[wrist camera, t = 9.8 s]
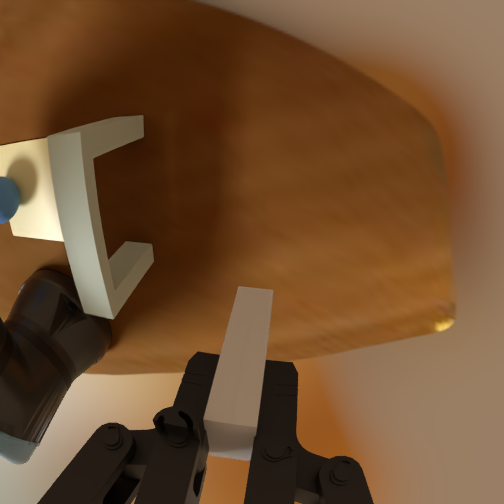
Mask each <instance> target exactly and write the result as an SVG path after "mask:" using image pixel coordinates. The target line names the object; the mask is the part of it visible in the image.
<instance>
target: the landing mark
mask: <svg viewBox="0 0 504 504" xmlns="http://www.w3.org/2000/svg"><path fill="white" fill-rule="evenodd" d="M0 176H3V177H7V178H9V179H11V180H12V181H13V182H14V183H15V184H16V186H17V188H18V190H19V195H20V203H19V207H18V210H17V212H16V213H15V215H14V216H13V217H12V218H11V219H10V224H11V228H12V232H13V235H14V236H22V237H30V238H38V239H47V240H55V241H64V239H63V235H62V230H61V226H60V221H59V216H58V211H57V206H56V200H55V194H54V188H53V182H52V175H51V168H50V160H49V151H48V141H47V138H42V139H35V140H29V141H23V142H18V143H12V144H7V145H2V146H0Z"/></svg>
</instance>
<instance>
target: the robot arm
mask: <svg viewBox="0 0 504 504" xmlns="http://www.w3.org/2000/svg"><path fill="white" fill-rule="evenodd" d="M272 299H273V290H269V289H260V288H250V287H241V286H238V290H237V294H236V298H235V301H234V305H233V309H232V313H231V316H230V320H229V324H228V328H227V331H226V335H225V339H224V343H223V346H222V350H221V354H220V355H217V354H210V353H204V352H197V353H196V354H195V355H194V356H193V357H192V358H191V359H190V360H189V361H188V364H187V367H186V370H185V374H184V375H183V378H182V382H181V384H180V387H179V390H178V393H177V396H176V398H175V401H174V404H173V407H168V408H165V409H163V410H161V411H160V412H158V413H157V414H156V415H155V417H154V419H153V422H154V425H155V427H156V428H154V429H149V430H128V429H127V428H126V427H125V426H124V425H121V424H118V423H107V424H104V425H102V426H101V427H99V428H98V429H97V430H96V431H95V432H94V434H93V435H92V436H91V437H90V438H89V440H88V441H87V442H86V443H85V445H84V446H83V447H82V448H81V450H80V451H79V452H78V453H77V455H76V456H75V457H74V458H73V460H72V461H71V462H70V463H69V465H68V466H67V467H66V468H65V469H64V471H63V472H62V473H61V474H60V476H59V477H58V478H57V479H56V481H55V482H54V483H53V485H52V486H51V487H50V488H49V490H48V491H47V492H46V493H45V495H44V496H43V497H42V498H41V500H40V501H39V502H38V503H37V504H131V503H132V501H133V500H134V498H135V497H136V500H135V502H134V504H199V501H200V496H201V492H202V488H203V483H204V479H205V474H206V460H207V456H208V452H209V455H213V456H219V457H226V458H232V459H239V460H247V461H250V468H249V474H248V481H247V487H246V494H245V499H244V504H294V501H296V502H299V503H302V504H374V503H373V500H372V497H371V494H370V491H369V489H368V485H367V482H366V479H365V476H364V473H363V470H362V468H361V466H360V465H359V463H358V462H357V461H355V460H354V459H353V458H350V457H347V456H335V457H333V458H330V459H328V458H325V457H322V456H319V455H316V454H313V453H311V452H309V451H307V450H306V449H304V448H303V447H302V446H301V444H300V443H299V442H298V439H297V436H296V422H297V395H298V392H297V391H298V388H297V387H298V372H297V370H296V368H295V366H294V364H293V362H282V361H272V360H266V352H267V344H268V335H269V326H270V317H271V308H272ZM111 338H112V337H111V329H110V326H109V323H108V321H107V319H106V318H104V317H100V316H96V315H91V314H87V313H84V310H83V307H82V304H81V301H80V298H79V295H78V291H77V288H76V285H75V281H73V280H72V279H70V278H69V277H67V276H65V275H63V274H61V273H58V272H56V271H52V270H39V271H36V272H35V273H33V274H32V275H31V276H30V277H29V278H28V279H27V280H26V281H25V282H24V283H23V285H22V286H21V289H20V292H19V295H18V297H17V299H16V301H15V303H14V305H13V307H12V309H11V312H10V314H9V316H8V318H7V320H6V321H5V322H4V323H3V321H2V319H1V318H0V456H2V457H3V458H5V459H7V460H8V461H10V462H12V463H14V464H23V463H26V462H27V461H28V460H29V459H30V457H31V455H32V454H33V452H34V450H35V449H36V447H37V446H39V445H40V442H41V440H42V438H43V436H44V434H45V432H46V430H47V428H48V426H49V424H50V422H51V420H52V418H53V416H54V415H55V413H56V411H57V409H58V407H59V405H60V403H61V401H62V400H63V398H64V396H65V394H66V392H67V391H68V389H69V388H70V386H71V384H72V382H73V381H74V380H75V379H76V378H77V377H78V376H80V375H81V374H82V373H83V372H85V371H86V370H87V369H88V368H89V367H90V366H92V365H93V364H96V363H97V362H99V361H100V360H101V359H102V358H103V356H104V355H105V353H106V351H107V350H108V348H109V346H110V344H111ZM136 495H137V496H136Z"/></svg>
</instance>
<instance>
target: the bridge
mask: <svg viewBox="0 0 504 504" xmlns="http://www.w3.org/2000/svg"><path fill="white" fill-rule="evenodd" d="M143 137H144V120H143V115H137V116H123V117H113V118H109V119H105V120H101V121H97V122H93V123H90V124H86V125H82V126H79V127H75V128H72V129H69V130H65V131H62V132H59V133H56V134H53V135H49V136H47V141H48V151H49V160H50V168H51V175H52V182H53V188H54V194H55V200H56V206H57V211H58V216H59V221H60V226H61V230H62V235H63V239H64V243H65V248H66V252H67V256H68V260H69V263H70V267H71V271H72V274H73V278H74V281H75V285H76V288H77V291H78V295H79V298H80V301H81V304H82V307H83V310H84V313H87V314H91V315H96V316H100V317H104V318H109V319H114V318H115V317H116V315H117V314H118V312H119V311H120V309H121V308H122V306H123V305H124V303H125V302H126V301H127V299H128V298H129V296H130V295H131V293H132V292H133V290H134V289H135V287H136V286H137V285H138V283H139V282H140V280H141V279H142V278H143V276H144V275H145V273H146V272H147V270H148V269H149V268H150V266H151V265H152V263H153V262H154V256H153V248H152V244H149V243H139V242H129V241H126V242H125V243H124V244H123V245H122V246H121V247H120V248H119V249H118V250H117V251H116V252H115V253H114V254H113V255H112V257H111V258H110V259H109V260H108V257H107V252H106V246H105V241H104V235H103V230H102V224H101V217H100V211H99V204H98V197H97V189H96V181H95V172H94V162H93V158H95V157H97V156H100V155H102V154H104V153H106V152H109V151H111V150H113V149H116V148H118V147H121V146H123V145H125V144H128V143H130V142H133V141H136V140H138V139H141V138H143Z"/></svg>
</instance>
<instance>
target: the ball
mask: <svg viewBox="0 0 504 504" xmlns="http://www.w3.org/2000/svg"><path fill="white" fill-rule="evenodd" d="M19 203H20V195H19V190H18V188H17V186H16V184H15V183H14V182H13V181H12V180H11V179H9V178H7V177H3V176H0V224H2V223H5V222H7V221H9V220H10V219H11V218H12V217H13V216H14V215H15V213H16V212H17V210H18V207H19Z"/></svg>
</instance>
